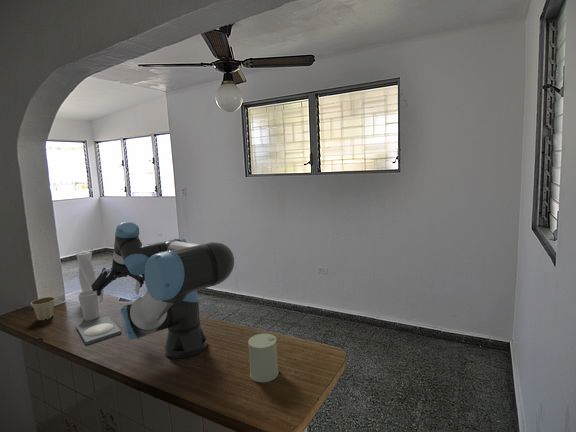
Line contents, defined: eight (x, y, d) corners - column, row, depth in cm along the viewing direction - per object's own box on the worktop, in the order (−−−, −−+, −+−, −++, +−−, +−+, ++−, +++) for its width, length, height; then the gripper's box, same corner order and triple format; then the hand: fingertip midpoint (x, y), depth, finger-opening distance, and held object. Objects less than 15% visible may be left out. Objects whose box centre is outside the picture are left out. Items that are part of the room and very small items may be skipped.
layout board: (121, 333, 143) (121, 330, 143) (86, 344, 135) (85, 341, 135) (108, 318, 158) (108, 315, 158) (76, 328, 150) (75, 325, 150)
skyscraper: (96, 295, 189) (90, 246, 185) (101, 299, 184) (94, 248, 180) (80, 300, 183) (73, 249, 179) (84, 303, 178) (77, 251, 174)
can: (281, 378, 108) (280, 343, 106) (252, 385, 105) (250, 348, 104) (274, 363, 117) (272, 329, 115) (247, 368, 114) (245, 334, 112)
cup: (86, 322, 155) (82, 297, 153) (78, 318, 160) (75, 294, 158) (104, 316, 161) (101, 291, 160) (96, 312, 166) (93, 288, 164)
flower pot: (62, 314, 166) (59, 297, 165) (45, 322, 157) (42, 304, 156) (45, 313, 168) (43, 296, 167) (28, 322, 159) (25, 304, 157)
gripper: (154, 246, 139) (148, 282, 150) (84, 256, 123) (82, 295, 134) (160, 259, 135) (153, 295, 146) (88, 271, 119) (86, 310, 130)
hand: (119, 295), depth 140 cm, fingers open, 13 cm apart
